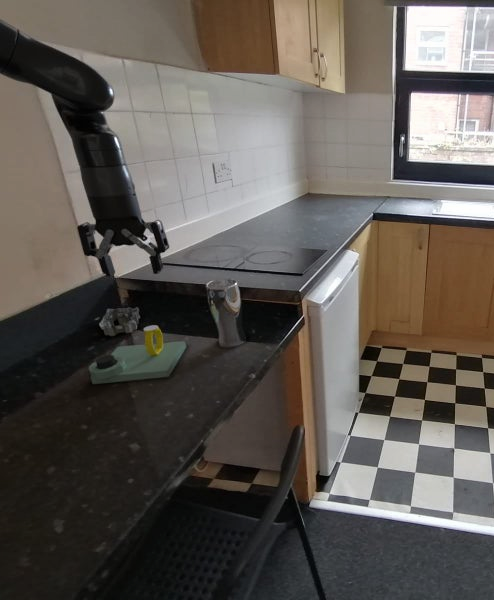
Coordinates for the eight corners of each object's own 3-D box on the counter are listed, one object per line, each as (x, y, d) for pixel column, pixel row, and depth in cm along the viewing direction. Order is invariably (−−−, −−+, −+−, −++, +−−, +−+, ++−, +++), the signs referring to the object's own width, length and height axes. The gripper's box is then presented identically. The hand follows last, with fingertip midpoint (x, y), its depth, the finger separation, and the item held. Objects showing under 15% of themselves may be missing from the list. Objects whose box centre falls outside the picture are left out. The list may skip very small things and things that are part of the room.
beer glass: (210, 347, 93) (197, 287, 87) (230, 333, 99) (219, 276, 93) (235, 351, 91) (223, 291, 85) (254, 337, 98) (244, 279, 91)
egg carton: (136, 333, 99) (132, 319, 97) (100, 339, 97) (95, 324, 95) (143, 315, 108) (139, 301, 106) (111, 320, 106) (106, 306, 104)
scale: (88, 388, 79) (82, 373, 77) (118, 354, 91) (113, 340, 89) (167, 380, 81) (163, 366, 80) (186, 348, 93) (183, 334, 91)
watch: (160, 358, 85) (152, 334, 83) (145, 360, 85) (138, 335, 82) (168, 344, 91) (162, 321, 88) (155, 345, 90) (148, 322, 88)
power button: (95, 370, 79) (92, 363, 79) (102, 362, 82) (100, 355, 81) (112, 368, 80) (109, 362, 79) (118, 360, 82) (116, 354, 82)
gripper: (55, 195, 69) (85, 283, 76) (145, 193, 71) (166, 278, 78) (78, 189, 76) (104, 269, 83) (160, 187, 78) (178, 265, 85)
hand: (134, 273), depth 80 cm, fingers open, 8 cm apart
